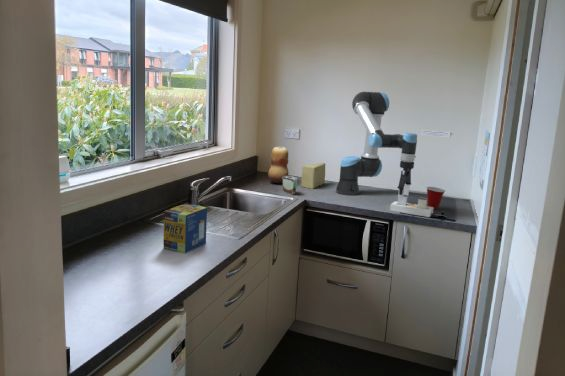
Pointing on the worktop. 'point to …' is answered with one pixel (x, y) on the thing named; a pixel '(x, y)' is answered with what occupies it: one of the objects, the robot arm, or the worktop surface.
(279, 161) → the butternut squash
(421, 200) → the beige plug
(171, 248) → the protein box
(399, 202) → the grey plug
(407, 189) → the robot arm
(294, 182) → the food container
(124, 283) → the worktop surface
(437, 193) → the plastic cup
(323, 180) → the cheese
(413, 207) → the power strip
